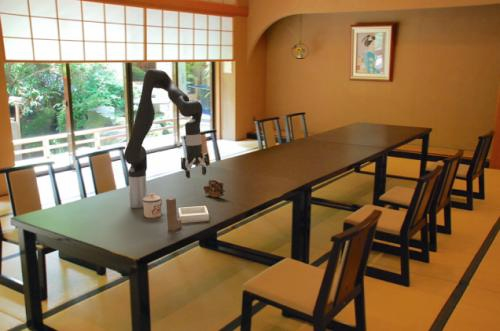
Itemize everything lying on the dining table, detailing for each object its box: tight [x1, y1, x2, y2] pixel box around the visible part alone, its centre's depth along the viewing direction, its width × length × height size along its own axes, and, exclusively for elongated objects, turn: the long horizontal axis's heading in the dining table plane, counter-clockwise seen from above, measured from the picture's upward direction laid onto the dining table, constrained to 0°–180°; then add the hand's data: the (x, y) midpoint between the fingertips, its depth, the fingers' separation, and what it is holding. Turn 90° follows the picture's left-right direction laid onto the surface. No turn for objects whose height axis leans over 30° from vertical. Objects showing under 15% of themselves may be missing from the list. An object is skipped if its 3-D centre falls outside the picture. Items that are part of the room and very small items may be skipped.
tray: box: [177, 205, 210, 224], centre depth 248 cm, size 14×14×4 cm
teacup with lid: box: [143, 192, 163, 219], centre depth 253 cm, size 12×9×12 cm
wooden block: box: [165, 197, 182, 232], centre depth 232 cm, size 7×3×15 cm, turn 153°
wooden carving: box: [203, 179, 227, 198], centre depth 283 cm, size 16×5×10 cm, turn 53°
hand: (196, 176), depth 240 cm, fingers open, 8 cm apart
